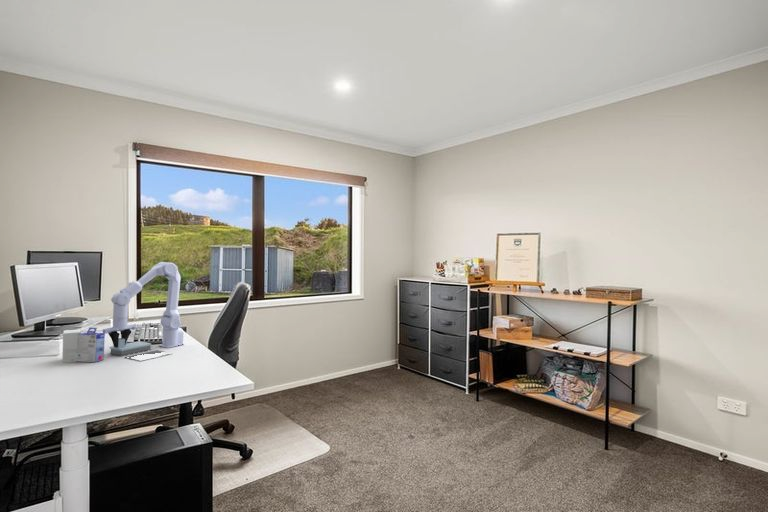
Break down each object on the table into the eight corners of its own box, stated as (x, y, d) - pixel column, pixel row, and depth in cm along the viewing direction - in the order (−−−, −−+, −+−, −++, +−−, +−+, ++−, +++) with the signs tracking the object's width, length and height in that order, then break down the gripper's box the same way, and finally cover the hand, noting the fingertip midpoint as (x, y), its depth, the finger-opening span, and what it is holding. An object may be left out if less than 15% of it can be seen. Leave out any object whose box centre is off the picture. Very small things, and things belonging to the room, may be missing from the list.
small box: (80, 361, 180) (81, 332, 180) (62, 363, 176) (62, 333, 176) (80, 357, 187) (80, 328, 187) (62, 359, 183) (63, 330, 183)
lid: (139, 342, 207) (139, 333, 207) (151, 345, 203) (151, 335, 203) (109, 348, 194) (109, 338, 194) (121, 351, 190) (121, 340, 190)
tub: (139, 347, 207) (139, 342, 207) (150, 350, 203) (150, 345, 203) (110, 353, 194) (110, 348, 194) (121, 356, 190) (122, 350, 190)
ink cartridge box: (105, 359, 184) (105, 327, 184) (95, 362, 179) (96, 329, 179) (84, 358, 185) (84, 326, 185) (74, 361, 179) (75, 329, 179)
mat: (157, 350, 202) (157, 350, 202) (172, 354, 197) (172, 353, 197) (124, 357, 188) (124, 357, 188) (140, 361, 183) (140, 360, 183)
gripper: (130, 315, 202) (129, 342, 202) (99, 319, 189) (98, 348, 189) (139, 316, 199) (138, 344, 199) (108, 320, 186) (107, 350, 186)
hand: (119, 346), depth 194 cm, fingers closed on lid, 3 cm apart
